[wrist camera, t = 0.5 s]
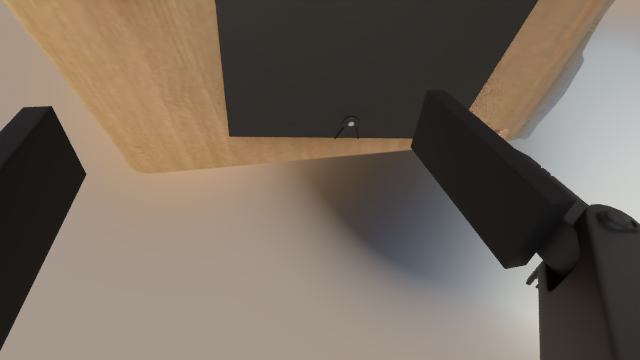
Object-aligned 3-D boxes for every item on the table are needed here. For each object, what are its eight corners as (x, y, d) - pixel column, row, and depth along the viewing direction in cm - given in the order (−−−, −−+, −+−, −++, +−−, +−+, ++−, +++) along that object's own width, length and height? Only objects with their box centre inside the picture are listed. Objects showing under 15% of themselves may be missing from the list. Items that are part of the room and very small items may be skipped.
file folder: (229, 139, 44) (206, -82, 25) (230, 118, 46) (210, -97, 28) (449, 141, 50) (562, -34, 32) (440, 123, 53) (539, -49, 34)
